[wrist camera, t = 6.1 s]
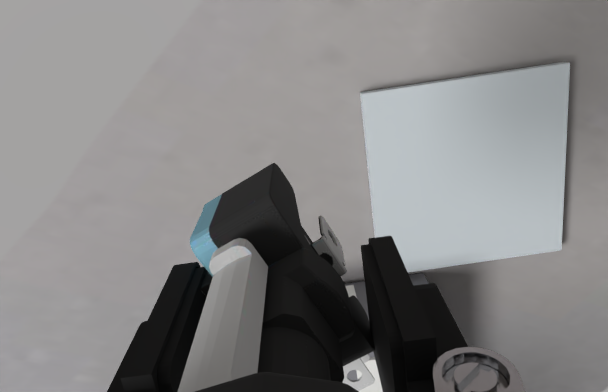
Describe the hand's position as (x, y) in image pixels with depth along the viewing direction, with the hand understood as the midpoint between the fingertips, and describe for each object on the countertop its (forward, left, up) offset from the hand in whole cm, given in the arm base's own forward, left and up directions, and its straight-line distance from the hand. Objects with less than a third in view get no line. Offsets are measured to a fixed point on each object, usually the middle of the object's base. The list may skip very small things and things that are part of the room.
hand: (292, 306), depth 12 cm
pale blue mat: (-9, +2, -14) cm, 17 cm away
